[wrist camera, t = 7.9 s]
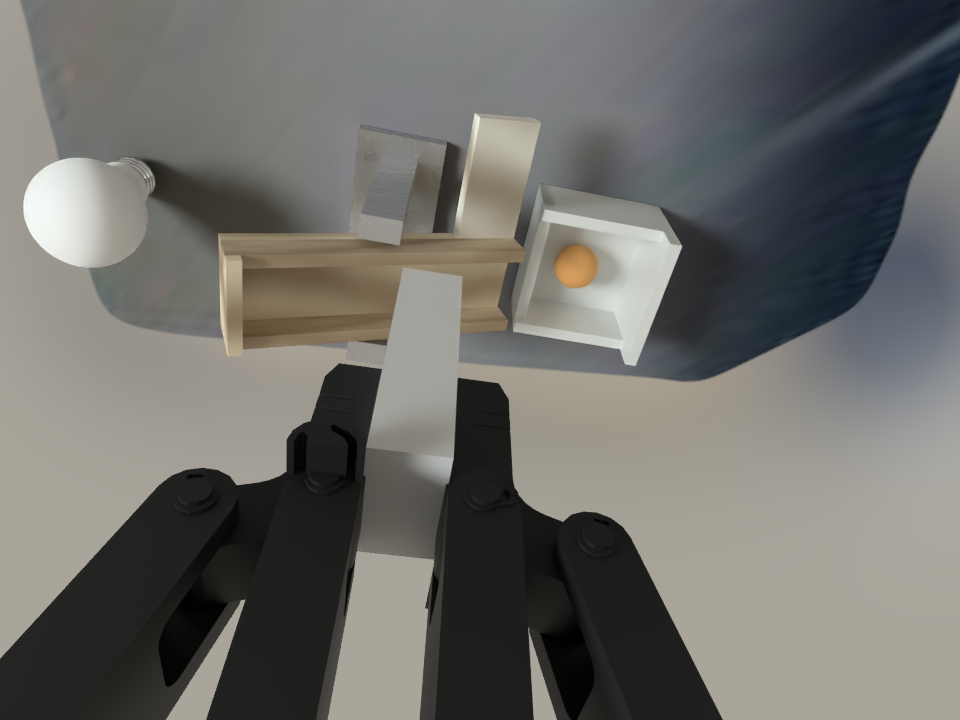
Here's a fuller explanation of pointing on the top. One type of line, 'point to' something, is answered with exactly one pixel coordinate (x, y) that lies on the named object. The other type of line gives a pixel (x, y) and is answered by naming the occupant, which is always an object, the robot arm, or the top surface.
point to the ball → (576, 266)
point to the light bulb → (89, 209)
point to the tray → (620, 278)
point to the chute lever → (381, 259)
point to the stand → (392, 198)
